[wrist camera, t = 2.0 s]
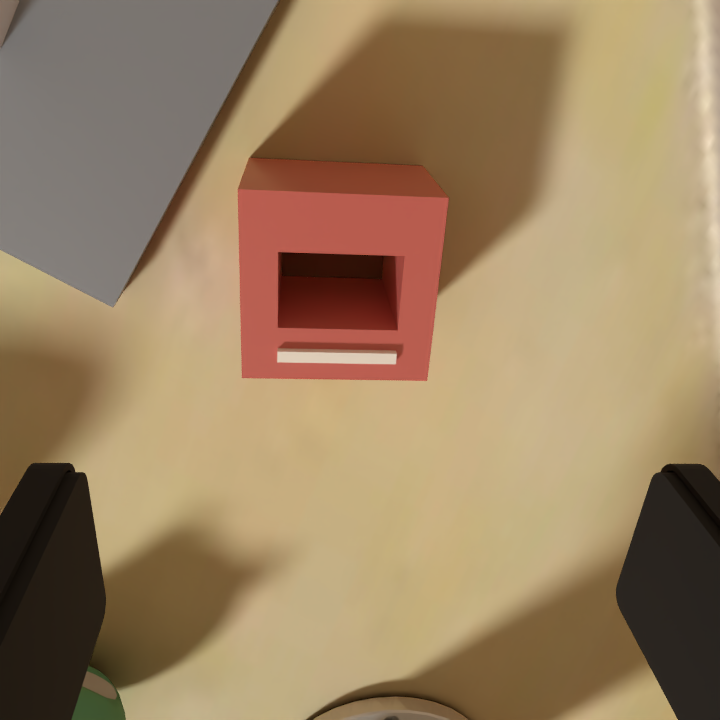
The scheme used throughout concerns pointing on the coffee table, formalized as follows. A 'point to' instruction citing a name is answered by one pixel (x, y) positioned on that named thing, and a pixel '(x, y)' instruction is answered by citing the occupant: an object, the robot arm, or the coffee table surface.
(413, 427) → the coffee table surface
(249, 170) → the red cubby box
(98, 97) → the base
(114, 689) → the alien toy
